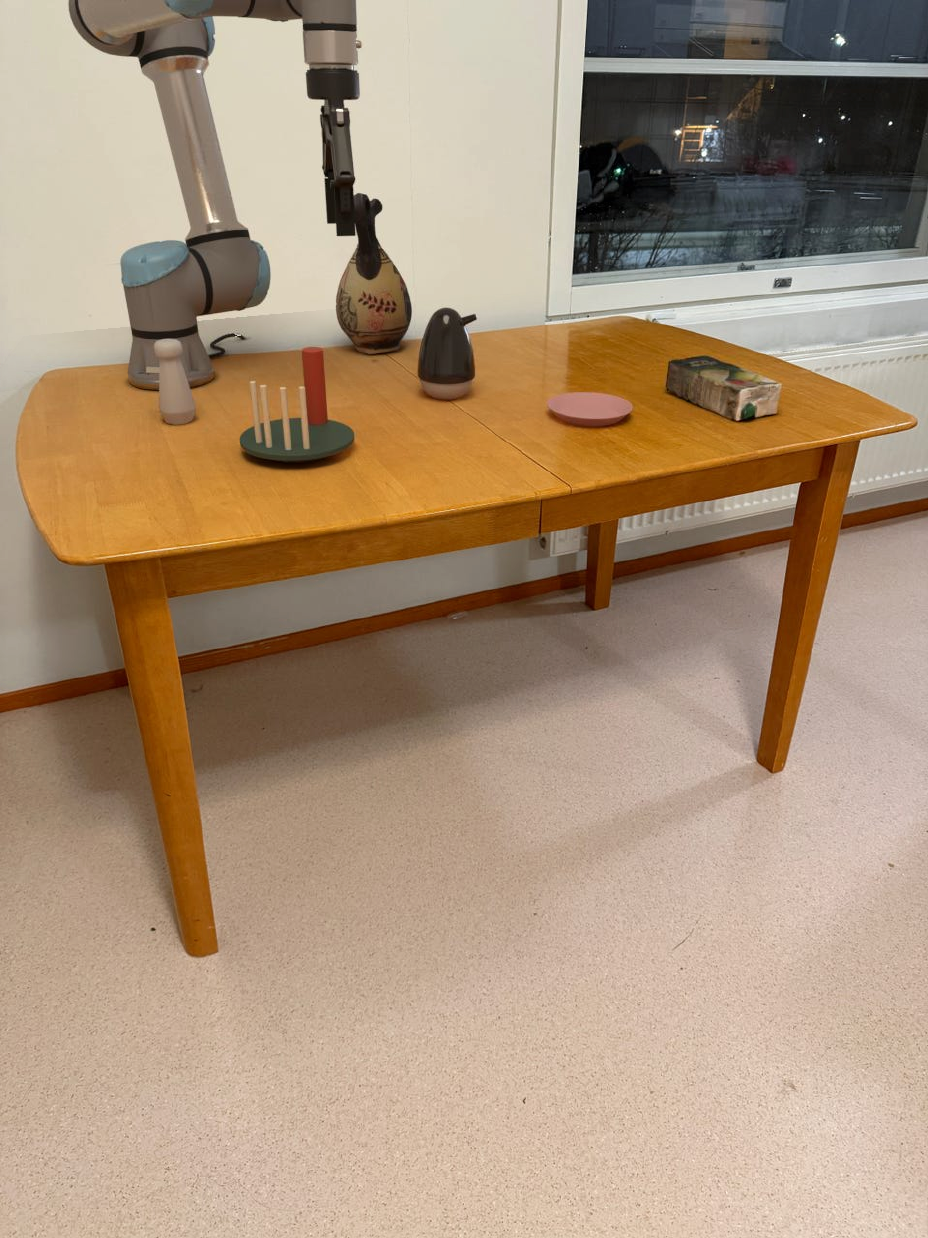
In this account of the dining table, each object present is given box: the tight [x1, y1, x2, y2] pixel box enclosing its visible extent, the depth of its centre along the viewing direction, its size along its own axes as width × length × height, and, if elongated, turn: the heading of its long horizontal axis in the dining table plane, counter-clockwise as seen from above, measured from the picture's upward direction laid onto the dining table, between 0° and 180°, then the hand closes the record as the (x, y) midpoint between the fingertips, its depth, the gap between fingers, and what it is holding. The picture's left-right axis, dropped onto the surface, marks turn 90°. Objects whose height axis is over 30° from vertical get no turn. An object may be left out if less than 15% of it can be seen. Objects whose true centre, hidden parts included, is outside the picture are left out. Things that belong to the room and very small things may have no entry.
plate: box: [546, 391, 634, 427], centre depth 154 cm, size 14×14×2 cm
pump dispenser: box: [416, 307, 478, 401], centre depth 160 cm, size 10×10×15 cm
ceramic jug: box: [335, 192, 413, 355], centre depth 183 cm, size 17×15×30 cm
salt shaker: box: [154, 339, 197, 426], centre depth 147 cm, size 6×6×13 cm
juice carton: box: [665, 354, 783, 422], centre depth 160 cm, size 20×10×6 cm, turn 29°
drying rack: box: [239, 346, 355, 462], centre depth 135 cm, size 17×17×13 cm
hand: (340, 229), depth 141 cm, fingers open, 13 cm apart
